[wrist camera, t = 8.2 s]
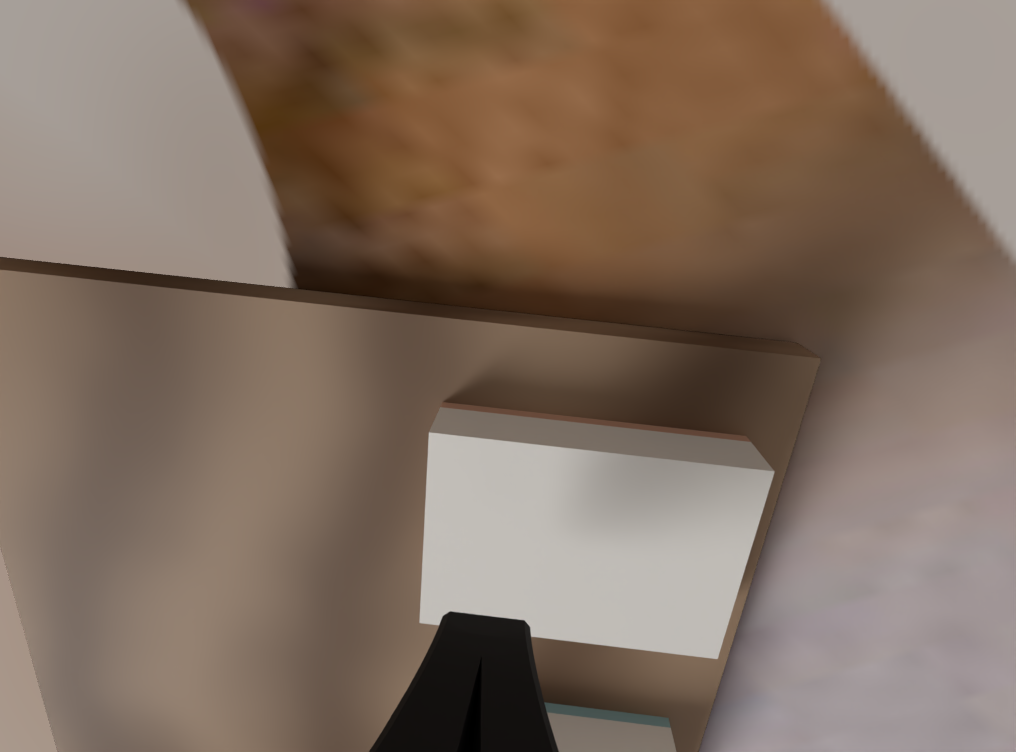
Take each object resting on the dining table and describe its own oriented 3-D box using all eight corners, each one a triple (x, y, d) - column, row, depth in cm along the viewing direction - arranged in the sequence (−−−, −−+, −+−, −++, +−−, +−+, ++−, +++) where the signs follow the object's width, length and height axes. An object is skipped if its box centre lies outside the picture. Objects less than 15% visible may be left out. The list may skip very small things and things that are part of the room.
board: (796, 342, 13) (821, 358, 12) (652, 832, 19) (660, 873, 18) (-27, 254, 13) (-80, 261, 12) (97, 760, 19) (70, 796, 18)
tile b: (442, 401, 12) (746, 436, 12) (432, 576, 14) (698, 608, 14) (428, 432, 11) (774, 471, 11) (419, 623, 13) (717, 659, 13)
